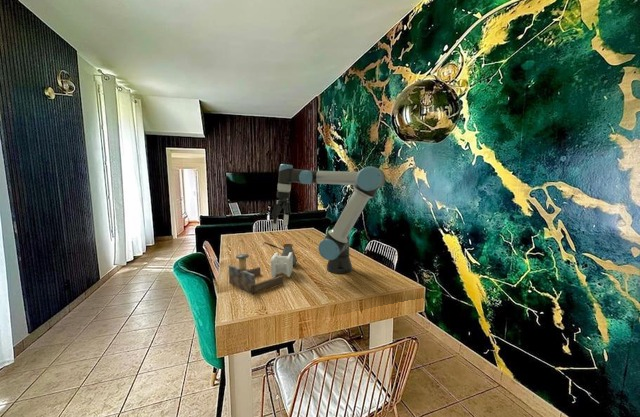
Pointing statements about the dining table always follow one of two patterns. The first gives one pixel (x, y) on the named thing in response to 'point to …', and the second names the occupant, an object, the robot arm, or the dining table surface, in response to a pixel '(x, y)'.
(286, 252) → the coffee pot
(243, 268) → the mushroom drawer knob
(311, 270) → the dining table surface
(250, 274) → the notched bay
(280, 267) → the cable organizer
